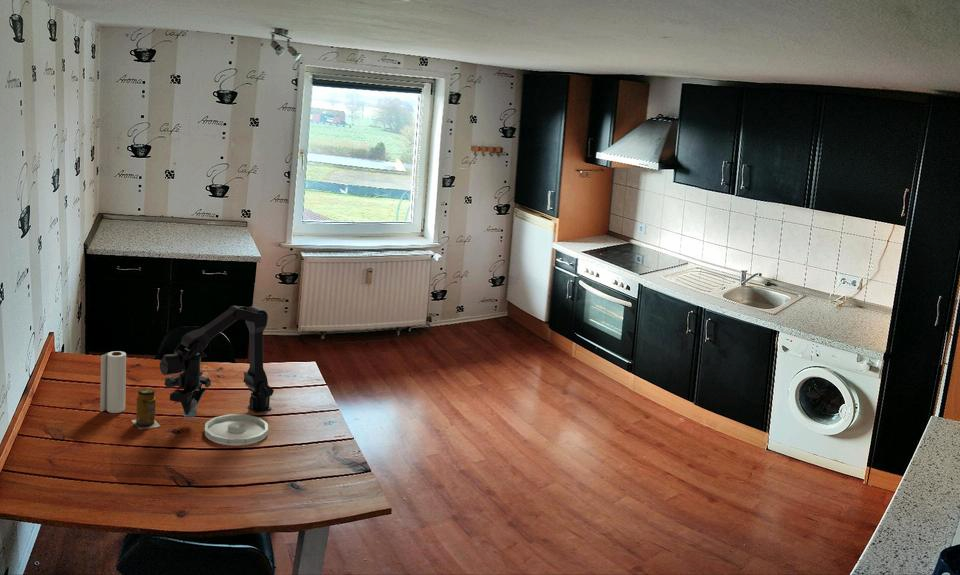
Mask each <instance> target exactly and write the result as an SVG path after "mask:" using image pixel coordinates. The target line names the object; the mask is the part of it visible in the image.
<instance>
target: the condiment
mask: <svg viewBox="0 0 960 575" xmlns="http://www.w3.org/2000/svg"><path fill="white" fill-rule="evenodd" d="M155 391H156V390H154V388H150V387H143V388H141V389H138V392H137V397H136V415H135V416H136V418H135V419H131V422H132V423H133V424H134V426H136V429H138V430H146V429H154V428H158V427H161V424H159V423H158V421H157V420H155V419H156V403H157V402H156V401H157V400H156V397H155Z"/></svg>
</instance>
